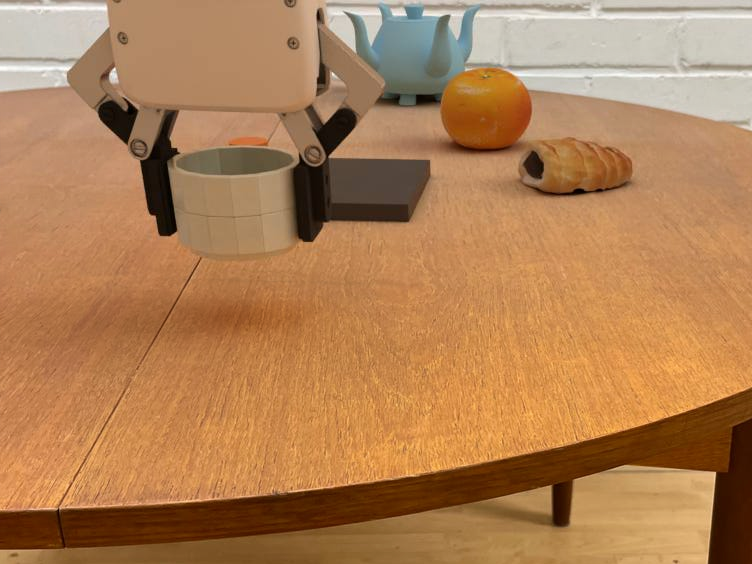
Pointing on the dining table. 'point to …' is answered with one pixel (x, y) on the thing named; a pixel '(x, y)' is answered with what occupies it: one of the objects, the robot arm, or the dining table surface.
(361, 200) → the scale
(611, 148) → the pastry
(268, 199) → the bowl
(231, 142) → the button
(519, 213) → the dining table surface
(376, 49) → the teapot
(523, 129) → the fruit
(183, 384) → the dining table surface
